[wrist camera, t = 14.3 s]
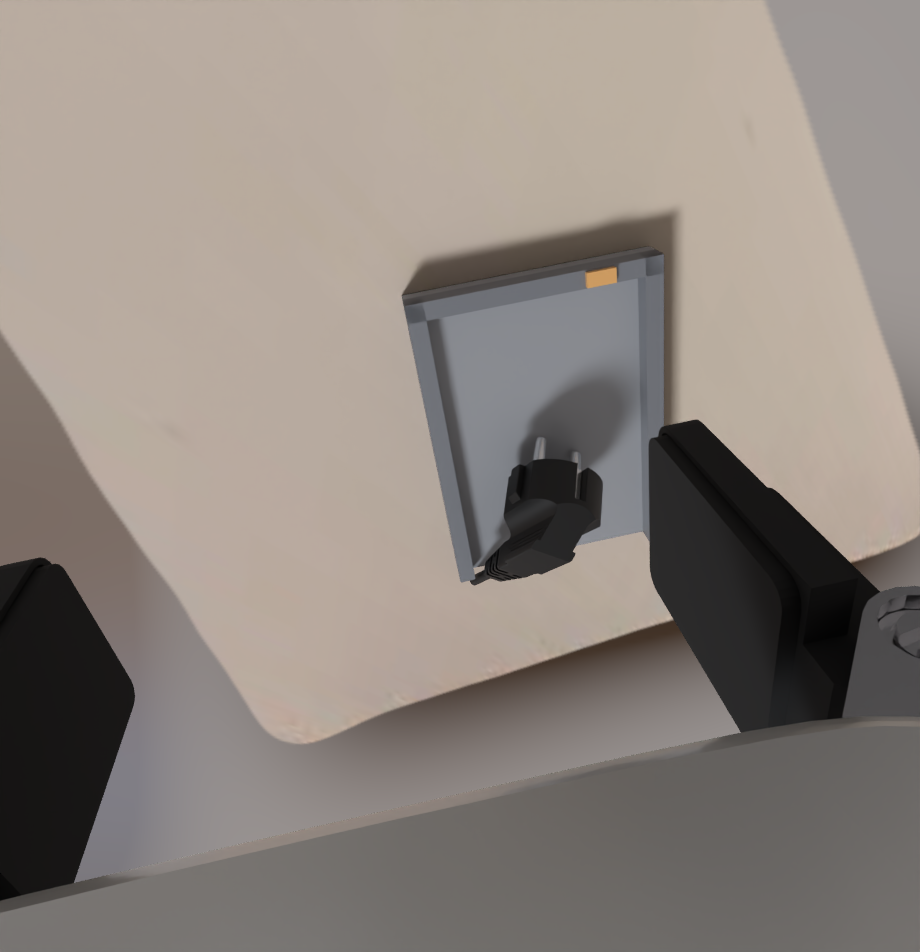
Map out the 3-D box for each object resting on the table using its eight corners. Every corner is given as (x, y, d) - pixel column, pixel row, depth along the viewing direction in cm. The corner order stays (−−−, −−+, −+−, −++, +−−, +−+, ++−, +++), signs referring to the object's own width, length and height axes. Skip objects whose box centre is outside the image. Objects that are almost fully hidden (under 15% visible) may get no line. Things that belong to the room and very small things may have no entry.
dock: (401, 295, 37) (404, 308, 35) (649, 246, 38) (666, 255, 36) (456, 563, 47) (461, 585, 45) (652, 521, 48) (665, 541, 46)
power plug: (435, 580, 45) (533, 527, 36) (453, 480, 49) (546, 407, 39) (507, 603, 47) (619, 558, 37) (519, 505, 51) (624, 441, 41)
